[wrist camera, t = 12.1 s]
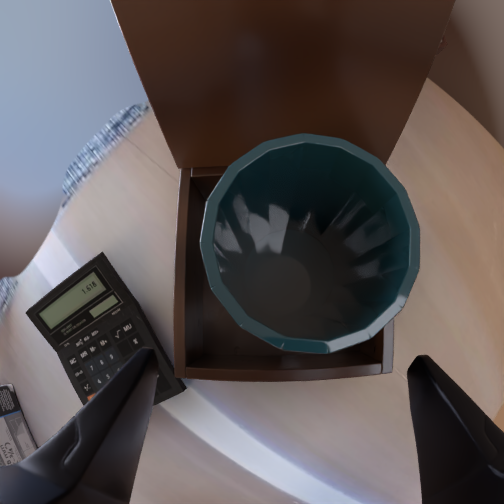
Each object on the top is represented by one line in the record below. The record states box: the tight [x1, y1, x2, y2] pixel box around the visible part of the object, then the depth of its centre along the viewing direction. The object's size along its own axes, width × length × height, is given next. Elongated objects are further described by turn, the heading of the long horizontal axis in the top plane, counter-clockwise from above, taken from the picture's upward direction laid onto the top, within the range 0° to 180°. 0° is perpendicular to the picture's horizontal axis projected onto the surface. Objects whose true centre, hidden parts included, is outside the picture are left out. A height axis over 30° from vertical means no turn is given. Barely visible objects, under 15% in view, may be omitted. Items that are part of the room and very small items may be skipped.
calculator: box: [26, 252, 187, 406], centre depth 19 cm, size 9×12×3 cm
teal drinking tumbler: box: [200, 133, 420, 354], centre depth 14 cm, size 7×7×12 cm
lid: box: [110, 0, 455, 169], centre depth 11 cm, size 13×12×4 cm
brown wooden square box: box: [174, 166, 394, 382], centre depth 18 cm, size 12×12×5 cm
